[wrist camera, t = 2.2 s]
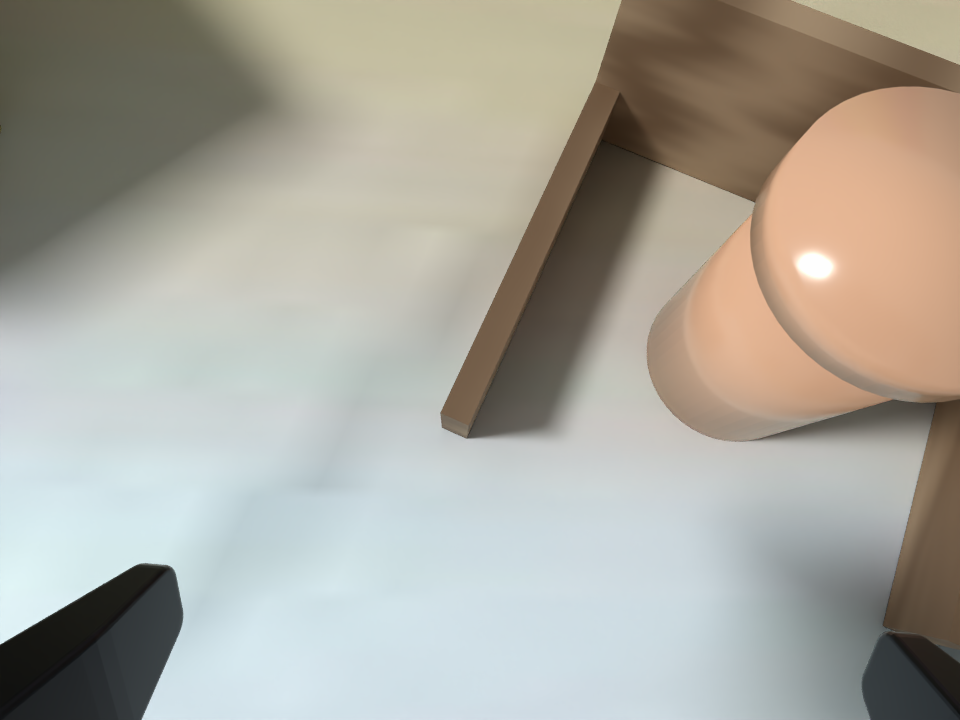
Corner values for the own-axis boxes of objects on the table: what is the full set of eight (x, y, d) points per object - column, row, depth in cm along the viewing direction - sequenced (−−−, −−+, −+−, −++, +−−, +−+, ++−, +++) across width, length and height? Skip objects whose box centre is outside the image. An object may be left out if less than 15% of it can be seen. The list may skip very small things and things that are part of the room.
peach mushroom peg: (840, 316, 25) (1130, 158, 14) (790, 483, 23) (1080, 445, 12) (671, 246, 25) (830, 42, 15) (609, 404, 23) (740, 302, 13)
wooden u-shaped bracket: (993, 276, 26) (1227, 167, 18) (909, 638, 22) (1162, 698, 14) (588, 112, 27) (643, -56, 19) (442, 427, 23) (436, 376, 15)
